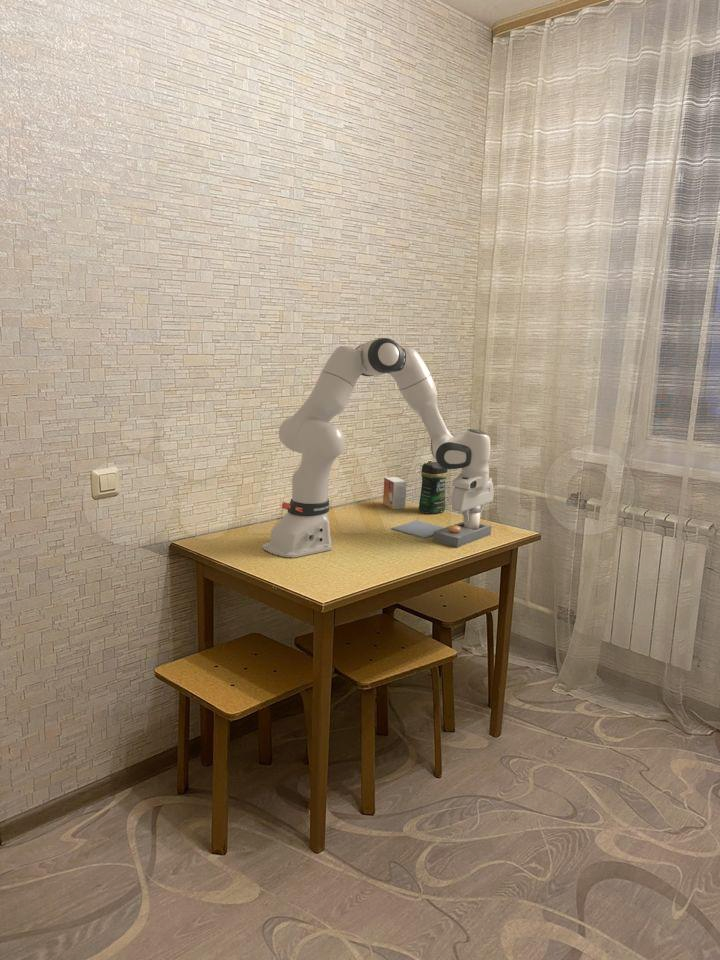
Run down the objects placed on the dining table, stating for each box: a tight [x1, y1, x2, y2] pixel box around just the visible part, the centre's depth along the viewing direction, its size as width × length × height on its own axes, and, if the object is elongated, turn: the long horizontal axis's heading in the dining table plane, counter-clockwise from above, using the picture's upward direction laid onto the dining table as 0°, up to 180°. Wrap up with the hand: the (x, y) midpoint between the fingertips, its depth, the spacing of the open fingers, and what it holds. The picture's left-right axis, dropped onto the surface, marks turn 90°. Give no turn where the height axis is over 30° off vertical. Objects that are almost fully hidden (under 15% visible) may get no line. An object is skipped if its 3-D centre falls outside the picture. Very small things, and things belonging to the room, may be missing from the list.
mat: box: [390, 519, 446, 539], centre depth 250 cm, size 14×14×1 cm
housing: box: [432, 521, 492, 548], centre depth 243 cm, size 20×9×3 cm, turn 139°
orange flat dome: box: [448, 524, 461, 533], centre depth 239 cm, size 4×4×1 cm
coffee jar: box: [418, 461, 448, 515], centre depth 272 cm, size 10×8×19 cm
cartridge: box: [463, 506, 481, 530], centre depth 246 cm, size 5×5×10 cm
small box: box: [382, 476, 408, 510], centre depth 278 cm, size 8×6×10 cm
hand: (472, 519), depth 246 cm, fingers closed on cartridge, 5 cm apart
